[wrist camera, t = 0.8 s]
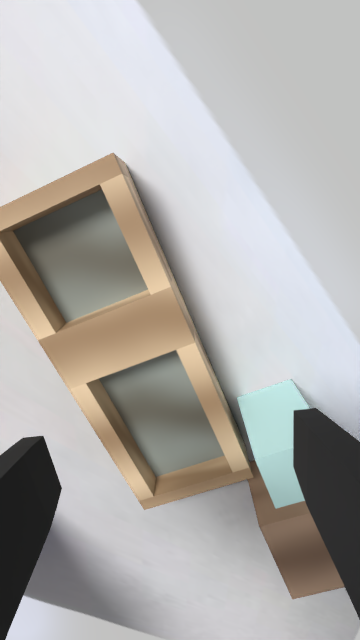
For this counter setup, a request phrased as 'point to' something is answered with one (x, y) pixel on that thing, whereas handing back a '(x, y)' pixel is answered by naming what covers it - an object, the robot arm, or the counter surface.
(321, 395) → the counter surface
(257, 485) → the tan cardboard box
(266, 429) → the block
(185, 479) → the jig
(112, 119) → the counter surface
